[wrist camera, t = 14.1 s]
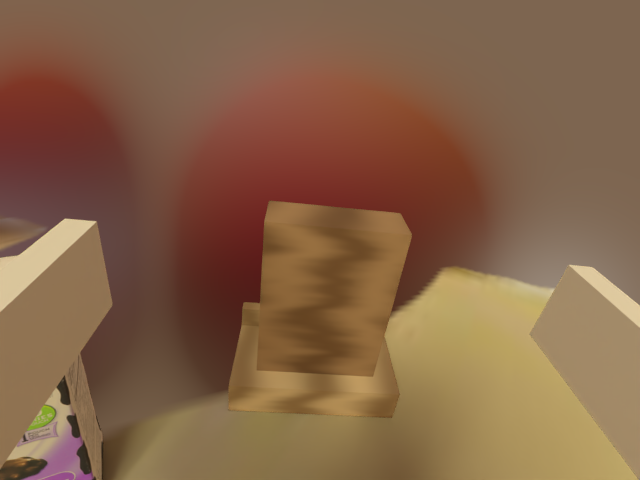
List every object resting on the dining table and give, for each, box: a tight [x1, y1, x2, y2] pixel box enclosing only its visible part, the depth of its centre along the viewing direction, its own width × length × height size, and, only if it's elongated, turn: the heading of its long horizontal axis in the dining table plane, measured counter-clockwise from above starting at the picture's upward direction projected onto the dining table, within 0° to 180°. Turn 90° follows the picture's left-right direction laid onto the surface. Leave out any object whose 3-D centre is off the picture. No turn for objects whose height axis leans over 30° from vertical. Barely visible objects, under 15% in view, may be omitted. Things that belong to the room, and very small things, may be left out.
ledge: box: [229, 302, 400, 418], centre depth 33 cm, size 14×8×5 cm, turn 92°
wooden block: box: [257, 201, 412, 377], centre depth 29 cm, size 10×4×14 cm, turn 92°
